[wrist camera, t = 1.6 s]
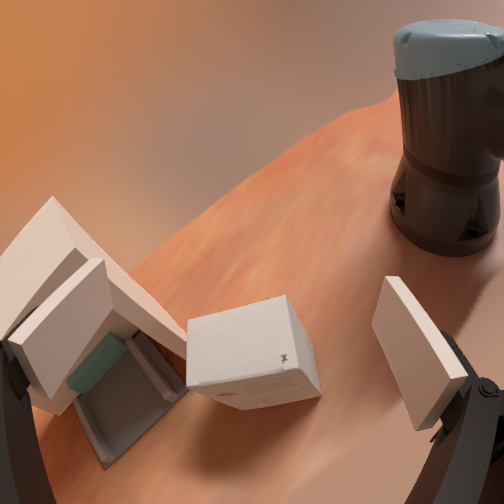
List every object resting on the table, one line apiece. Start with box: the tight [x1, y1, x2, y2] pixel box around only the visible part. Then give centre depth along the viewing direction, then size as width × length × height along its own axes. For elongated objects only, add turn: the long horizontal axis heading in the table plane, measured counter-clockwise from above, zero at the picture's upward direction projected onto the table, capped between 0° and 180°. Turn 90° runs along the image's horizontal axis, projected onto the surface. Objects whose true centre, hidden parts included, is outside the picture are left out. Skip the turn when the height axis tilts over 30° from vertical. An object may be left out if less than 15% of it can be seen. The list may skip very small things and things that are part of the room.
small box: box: [186, 294, 322, 411], centre depth 23 cm, size 8×6×10 cm
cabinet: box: [0, 196, 189, 469], centre depth 24 cm, size 14×24×20 cm, turn 136°
